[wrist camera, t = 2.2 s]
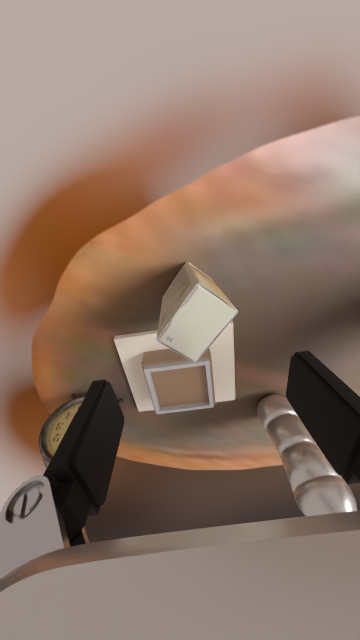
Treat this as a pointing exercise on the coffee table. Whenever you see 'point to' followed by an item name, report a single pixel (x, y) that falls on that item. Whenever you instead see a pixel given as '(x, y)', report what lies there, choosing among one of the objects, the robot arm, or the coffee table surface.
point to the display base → (150, 343)
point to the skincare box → (193, 313)
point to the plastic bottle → (304, 461)
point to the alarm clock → (58, 427)
